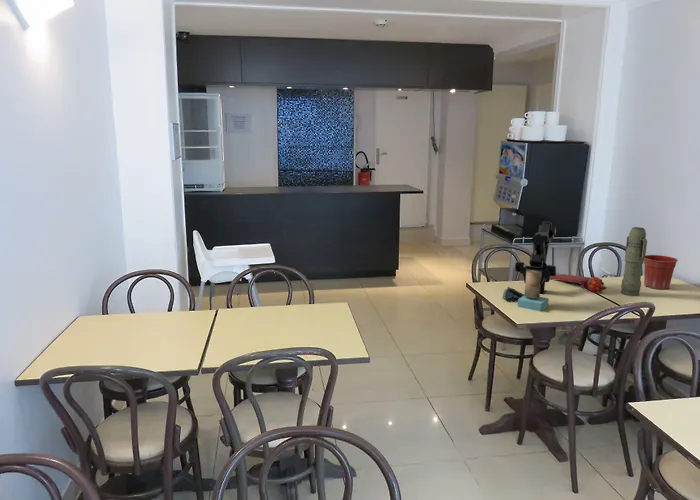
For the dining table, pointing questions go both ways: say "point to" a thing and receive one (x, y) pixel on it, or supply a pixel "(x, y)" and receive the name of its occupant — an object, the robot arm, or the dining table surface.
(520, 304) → the base block
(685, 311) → the dining table surface
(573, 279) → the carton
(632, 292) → the thermos
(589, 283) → the dragon fruit
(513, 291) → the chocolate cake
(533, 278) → the brown vase
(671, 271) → the flower pot
